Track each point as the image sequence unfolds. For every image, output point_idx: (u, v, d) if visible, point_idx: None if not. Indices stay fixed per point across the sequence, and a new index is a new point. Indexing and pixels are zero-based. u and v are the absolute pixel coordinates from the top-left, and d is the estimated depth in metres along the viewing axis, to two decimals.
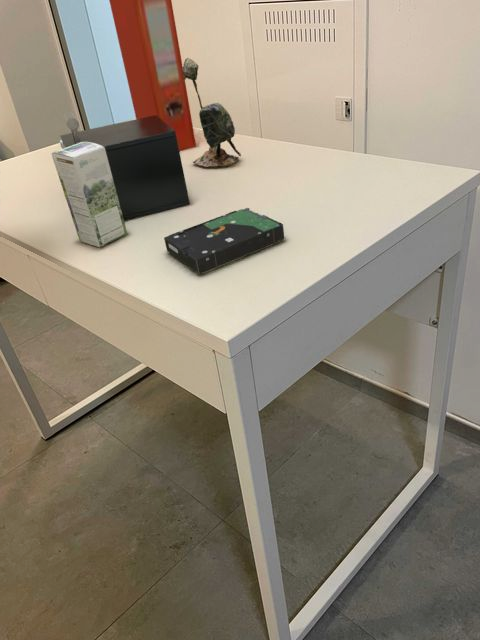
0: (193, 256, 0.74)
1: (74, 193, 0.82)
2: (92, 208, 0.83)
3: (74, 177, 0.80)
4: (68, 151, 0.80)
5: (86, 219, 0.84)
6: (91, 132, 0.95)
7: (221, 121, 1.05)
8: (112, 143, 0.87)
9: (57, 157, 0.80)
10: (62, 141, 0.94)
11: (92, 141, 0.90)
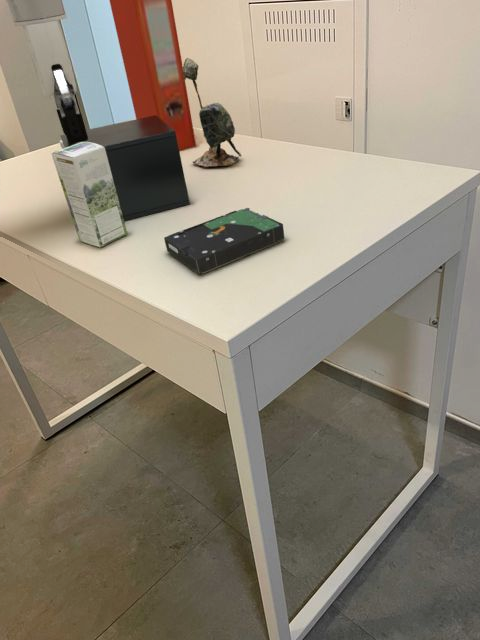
0: (193, 256, 0.74)
1: (74, 193, 0.82)
2: (92, 208, 0.83)
3: (74, 177, 0.80)
4: (68, 151, 0.80)
5: (86, 219, 0.84)
6: (91, 132, 0.95)
7: (221, 121, 1.05)
8: (112, 143, 0.87)
9: (57, 157, 0.80)
10: (62, 141, 0.94)
11: (92, 141, 0.90)
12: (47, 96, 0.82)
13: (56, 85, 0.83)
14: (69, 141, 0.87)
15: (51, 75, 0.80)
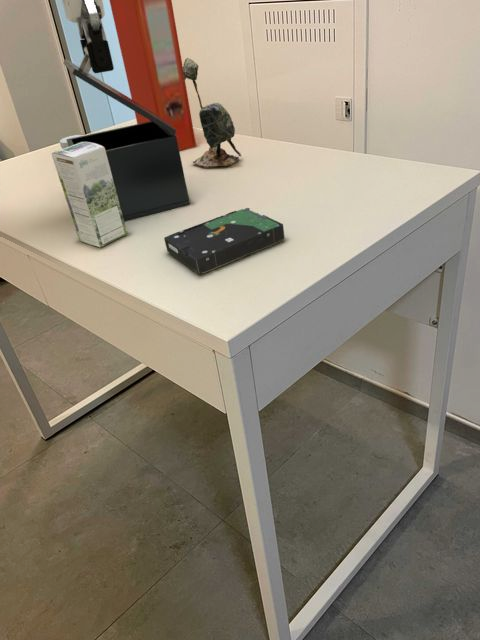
0: (193, 256, 0.74)
1: (74, 193, 0.82)
2: (92, 208, 0.83)
3: (74, 177, 0.80)
4: (68, 151, 0.80)
5: (86, 219, 0.84)
6: (96, 78, 0.91)
7: (221, 121, 1.05)
8: (118, 95, 0.84)
9: (57, 157, 0.80)
10: (65, 63, 0.88)
11: (98, 81, 0.86)
12: (73, 18, 0.78)
13: (83, 7, 0.79)
14: (94, 70, 0.83)
15: None
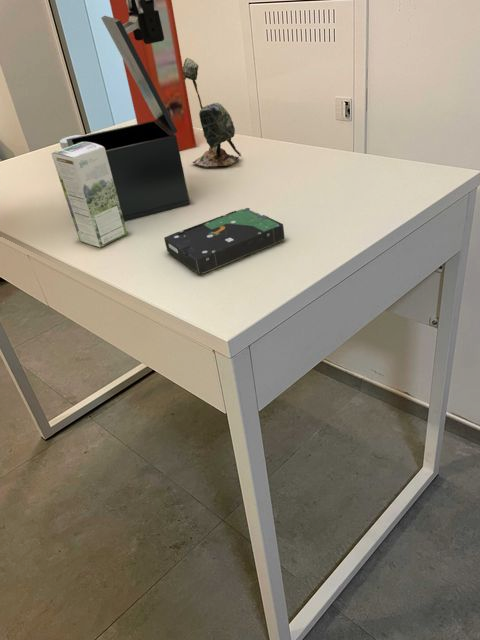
0: (193, 256, 0.74)
1: (74, 193, 0.82)
2: (92, 208, 0.83)
3: (74, 177, 0.80)
4: (68, 151, 0.80)
5: (86, 219, 0.84)
6: None
7: (221, 121, 1.05)
8: (144, 68, 0.84)
9: (57, 157, 0.80)
10: (105, 17, 0.87)
11: None
12: None
13: None
14: (145, 41, 0.84)
15: None
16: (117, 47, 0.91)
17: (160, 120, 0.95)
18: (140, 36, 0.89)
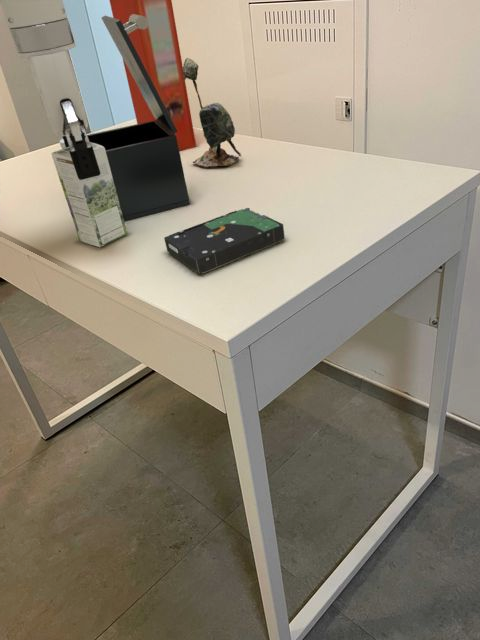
0: (193, 256, 0.74)
1: (74, 193, 0.82)
2: (92, 208, 0.83)
3: (74, 177, 0.80)
4: (68, 151, 0.80)
5: (86, 219, 0.84)
6: None
7: (221, 121, 1.05)
8: (144, 68, 0.84)
9: (57, 157, 0.80)
10: (105, 17, 0.87)
11: None
12: (56, 133, 0.74)
13: (65, 120, 0.75)
14: (79, 177, 0.78)
15: (60, 111, 0.73)
16: (117, 47, 0.91)
17: (160, 120, 0.95)
18: None
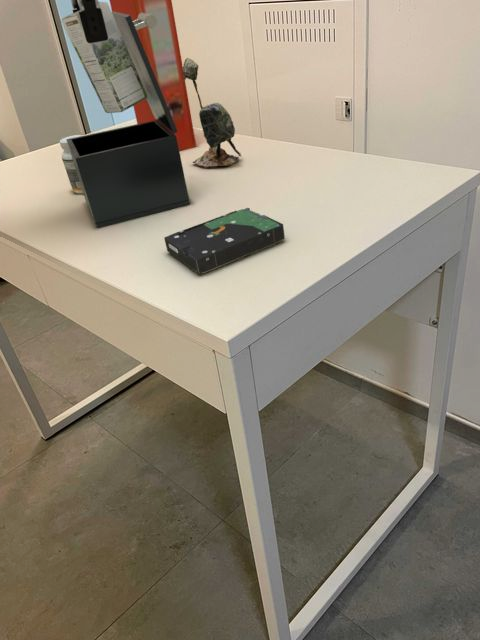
0: (193, 256, 0.74)
1: (87, 58, 0.84)
2: (105, 70, 0.84)
3: (83, 38, 0.82)
4: (74, 13, 0.81)
5: (103, 83, 0.86)
6: None
7: (221, 121, 1.05)
8: None
9: (66, 22, 0.82)
10: (114, 13, 0.87)
11: None
12: None
13: None
14: (88, 40, 0.81)
15: None
16: None
17: (160, 120, 0.95)
18: None
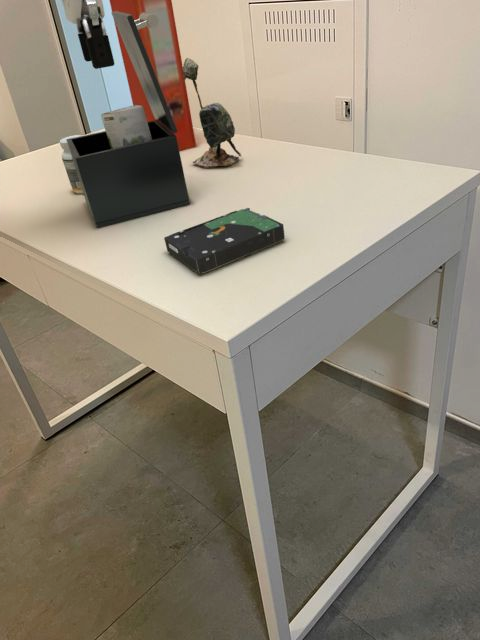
0: (193, 256, 0.74)
1: None
2: None
3: (116, 132, 0.93)
4: (112, 111, 0.93)
5: None
6: None
7: (221, 121, 1.05)
8: (151, 65, 0.84)
9: (104, 117, 0.94)
10: (115, 12, 0.87)
11: None
12: (74, 19, 0.78)
13: (83, 8, 0.79)
14: (94, 66, 0.82)
15: None
16: (124, 43, 0.92)
17: (160, 120, 0.95)
18: (90, 57, 0.89)
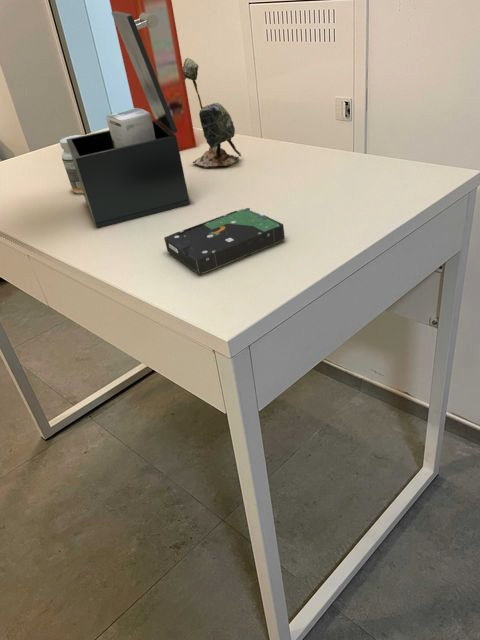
0: (193, 256, 0.74)
1: None
2: None
3: (122, 139, 0.91)
4: (119, 115, 0.91)
5: None
6: None
7: (221, 121, 1.05)
8: (151, 65, 0.84)
9: (110, 120, 0.92)
10: (115, 12, 0.87)
11: None
12: None
13: None
14: None
15: None
16: (124, 43, 0.92)
17: (160, 120, 0.95)
18: None
